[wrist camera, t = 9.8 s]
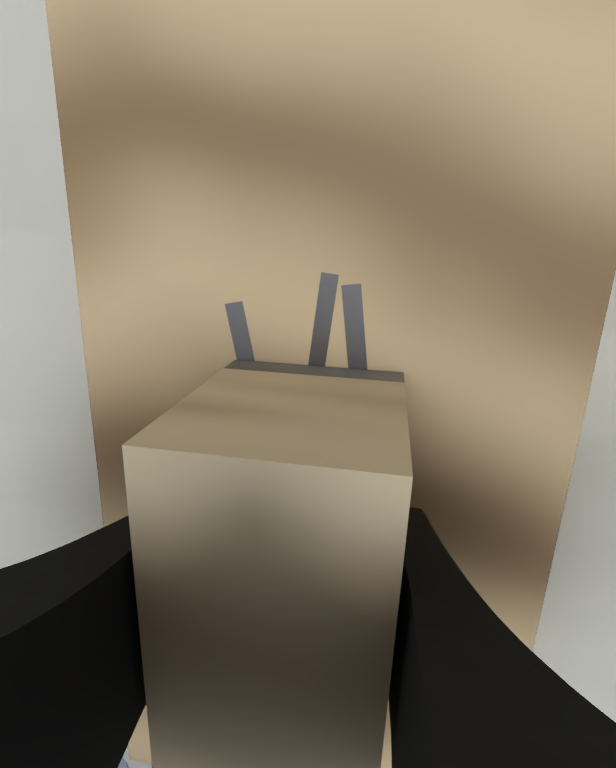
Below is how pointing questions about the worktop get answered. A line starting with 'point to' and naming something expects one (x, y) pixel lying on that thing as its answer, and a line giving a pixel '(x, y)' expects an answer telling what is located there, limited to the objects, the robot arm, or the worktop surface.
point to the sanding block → (271, 565)
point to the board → (354, 233)
